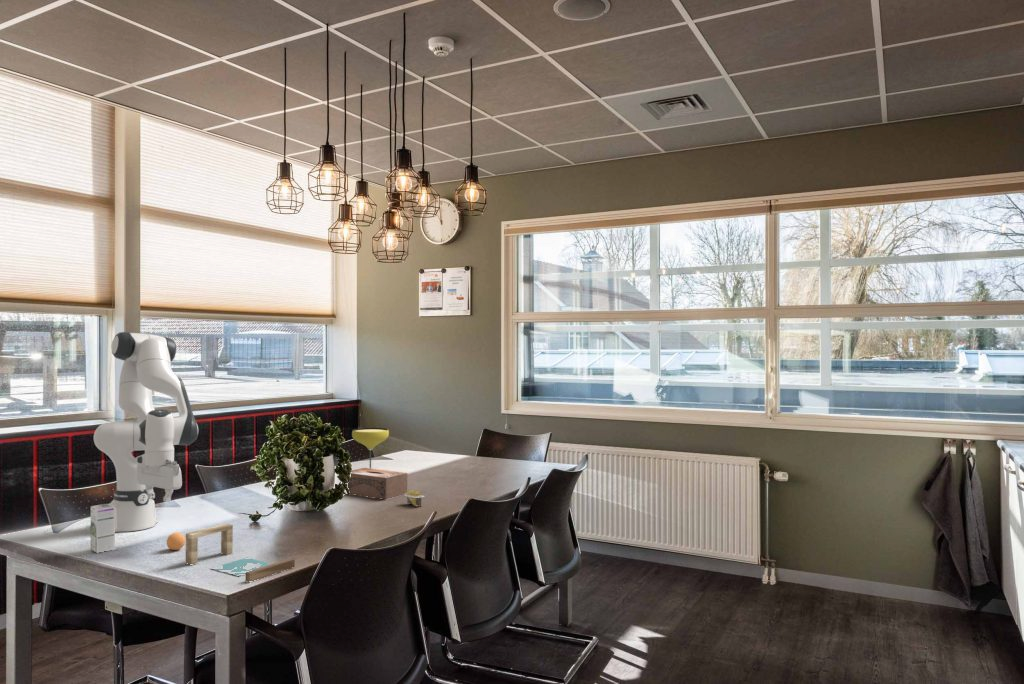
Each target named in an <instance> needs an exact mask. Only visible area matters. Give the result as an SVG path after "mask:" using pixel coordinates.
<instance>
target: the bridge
mask: <svg viewBox="0 0 1024 684" xmlns="http://www.w3.org/2000/svg"><path fill="white" fill-rule="evenodd" d="M233 530H234V527H233V524H229V523H224V524H220V525H216V526H212V527H208V528H203V529H199V530H195V531H191V532H188V533H185V564H186V563H188V564H194V565H196V564H195V563H197V564H198V558H199V557H198V554H199V549H198V543H199V540H198V539H199V538H202V537H205V536H209V535H213V534H214V535H215V534H218V533H220V535H221V536H220V538H221V539H220V554H221V553H223V554H222V555H225V554H227V555H226V556H229V555H232V554H233V541H234V540H233V537H234V536H233V534H234V532H233ZM231 553H232V554H231ZM228 554H229V555H228ZM188 564H187V565H188Z"/></svg>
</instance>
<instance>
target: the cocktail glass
mask: <svg viewBox="0 0 1024 684" xmlns="http://www.w3.org/2000/svg"><path fill="white" fill-rule="evenodd" d="M389 435H390V431H389V429H387V428H385V427H384V428H382V427H361V428H360V427H359V428H354V429H352V432H351V437H352V439H353V440H354V441H356V442H357V443H359V444H361V445H363V446H365V447H366V448H367V450H368V451H369V468H371V469H372V451H373V450H374V448H375V447H376V446H377V445H379V444H380V443H384V441H386V440H387V439H388V438H389Z"/></svg>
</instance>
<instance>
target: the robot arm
mask: <svg viewBox="0 0 1024 684" xmlns="http://www.w3.org/2000/svg"><path fill="white" fill-rule="evenodd" d="M176 353H177V344H176V342H175V340H174V339H172V338H170V337H167V336H160V335H156V334H152V333H143V332H142V333H139V332H129V331H121V332H118V333H117V334H115V335H114V337H113V339H112V342H111V354H112V355H113V357H114V358H116V359H118V360H121V361H124V362H123V364H122V366H121V370H120V374H119V375H120V376H119V383H118V384H119V385H118V387H119V388H118V406H119V408H120V409H121V410H122V411H124V412H125V413H128V414H131V415H133V416H135V417H136V418H137V419H136V420H127V421H126V420H122V421H120V420H119V421H111V422H106V423H102V424H99V425H98V427H97V428H96V429H95V430H94V433H93V442H94V445H95V447H96V448H97V449H98V450H99V451H101V452H102V453H104V454H105V455H106V456H108V457H109V459H110V460H111V461H112V463H113V465H114V468H115V476H116V489H115V490H113V492H112V494H113V497H112V498H113V500H112V501H110V503H109V504H110V505H112V506H115V533H116V532H117V533H118V532H132V531H133V532H134V531H141V530H146V529H150V528H152V527H155V525H156V524H157V523H159V518H156V507H155V506H156V504H155V500H154V499H155V498H156V493H155V491H154V488H159V489H164V492H165V494H164V496H163V497H162V498H163V502H164V503H170V502H171V500H172V496H173V493H174V490H179V489H181V488H182V486H183V477H182V470H181V467H180V465H179V464H178V462H177V461H176V460H175V446H177V445H178V446H190V445H192V444H193V443H194V442H195V441H197V439H198V436H199V426H198V423H197V420H196V418H195V416H194V413H193V410H192V406H191V403H190V399H189V396H188V392H187V389H186V387H185V384H184V381H183V379H182V378H181V377H179V376H177V375H176V374H175V373H174V371H173V368H172V363H171V362H172V361H174V359H175V357H176ZM153 392H157V393H160V394H162V395H167V396H168V397H170V398H172V399H173V400H174V401H175V404H176V408H177V412H178V416H176V417H174V415H173V413H172V411H170V410H168V409H155V406H154V402H153V401H154V400H153ZM136 451H144V453H143V454H141V455H138V456H136V457H135V456H133V452H136Z"/></svg>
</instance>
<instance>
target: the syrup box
mask: <svg viewBox="0 0 1024 684" xmlns="http://www.w3.org/2000/svg"><path fill="white" fill-rule="evenodd" d="M90 550H91V551H92V552H94V553H95V552H96V554H100V553H99V552H103V553H105V552H104V551H108V552H111V551H110V550H112V551H115V550H116V532H115V506H112V505H110V503H101V504H97V505H91V506H90Z"/></svg>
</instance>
